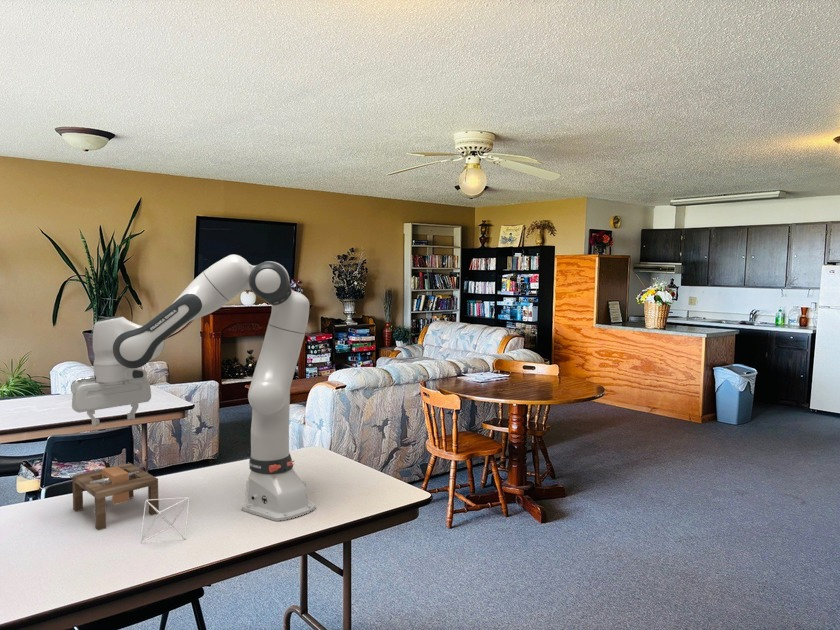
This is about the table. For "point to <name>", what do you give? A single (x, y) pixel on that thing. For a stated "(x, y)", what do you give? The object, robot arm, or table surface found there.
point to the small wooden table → (112, 490)
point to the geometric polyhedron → (164, 519)
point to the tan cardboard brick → (116, 477)
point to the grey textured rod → (107, 480)
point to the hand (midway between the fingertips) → (113, 422)
